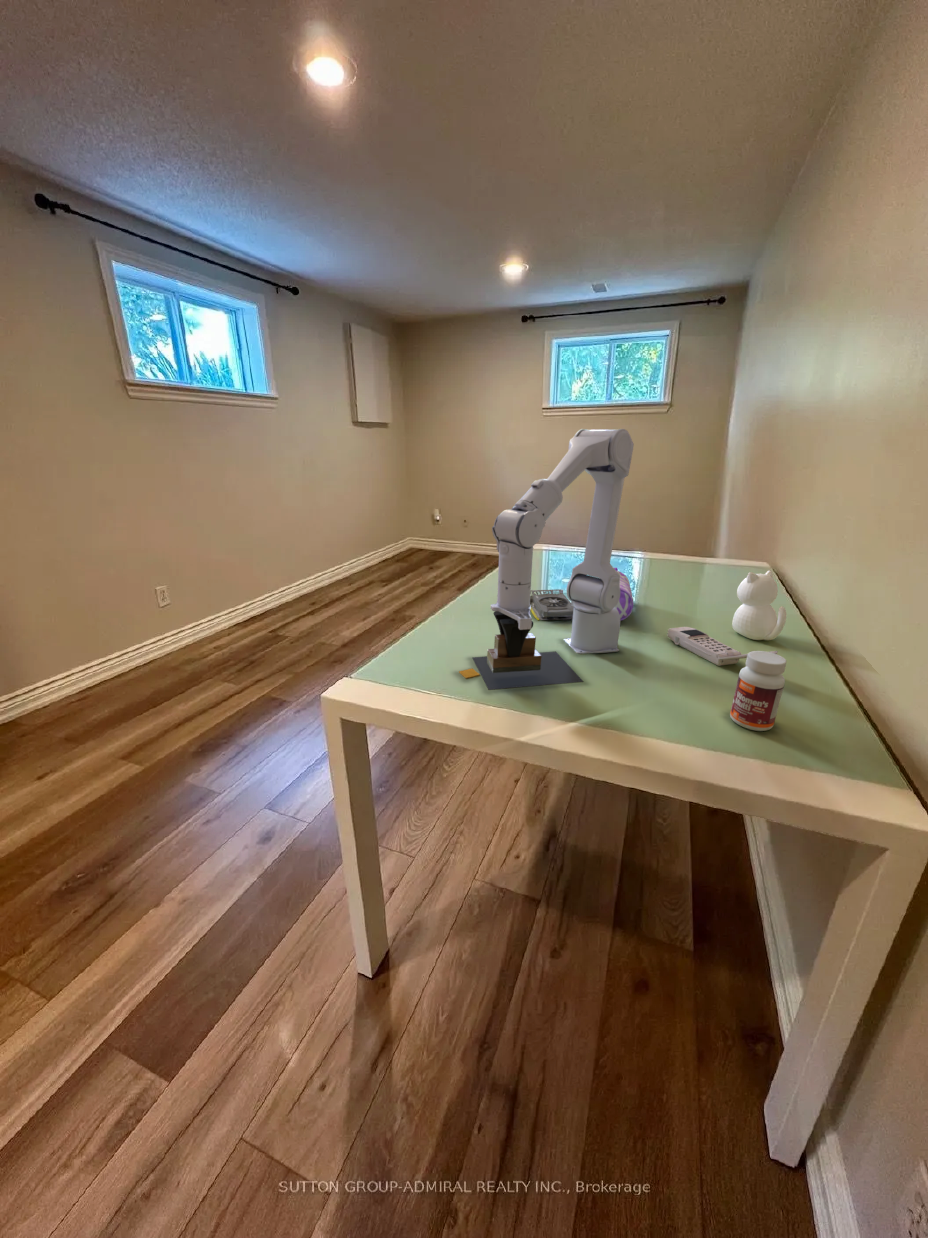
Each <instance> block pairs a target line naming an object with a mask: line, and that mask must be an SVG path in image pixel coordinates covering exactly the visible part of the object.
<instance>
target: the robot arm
mask: <svg viewBox="0 0 928 1238" xmlns="http://www.w3.org/2000/svg"><path fill="white" fill-rule="evenodd" d="M634 446H635V443H634V441H633V438H632V437H631V434H630V433H629V431H628V430H627V429H625V428H618V429H587V428H586V429H585V428H581V429H579V430H578V431H577V432H576V433H574V436H573V437H571V438H570V439H569V442H568V451H567V452H566V453H565V455H564V456H563V457H562V458H561V460H560V461H559V462H558V464H557V465H556V467H555V468H554V469H553V470H552V472H551V473H550V474H549V476H548V477H547V478H539V479H536V480H533V482H532V483H531V484H530V486H531V487H529V489H528V490H527V491H526V492H525V493H524V494H523V495H522V496H521V498H519V499H518V500H517V501H516V502H515V503H514V505H513V506H512V507H511V509H510V508H508V509H504V510H503V511H501V512H500V513H499V514H498V515H497V516H496V518H495V520H494V523H493V526H491V532H492V536H493V539H494V540H495V542H496V543H495V544H496V550H497V553H498V572H497V595H496V597H497V598H496V603H492V604H490V610H491V611H492V612H493V613H492V614H493V616H494V618H495V620H496V623H497V626H498V629H499V634H505V639H506V650H507V654H508V657H519V656H520V654H521V651H522V647H523V644H524V641H525V639H526V636H527V634H528V633H530V631H531V630H532V629H533V628H534V621H533V618H532V616H531V604H530V596H531V594H532V591H531V590H532V575H533V573H532V572H533V558H534V557H533V556H534V546H535V545H536V544H537V543H539V541H540V539H541V537H542V534H543V530H544V528H545V527H546V521H547V520H548V519H549V518H550V517H551V516H552V514H553V513H554V512H555V511H556V510H557V508H558V507H560V505H561V504H562V502H563V492H564V491H565V490H566V489H567V488H568V487H569V486H570V485H571V484H572V483H573V482H574V481H575V480H576V479H577V478H579V476H580V475H582V473H584V472H585V473H586V474H588V475H589V476H591V477H592V479H593V481H594V483H595V487H594V491H593V492H594V493H593V499H592V505H591V511H590V518H589V525H588V530H587V531H588V532H587V537H586V544H585V550H584V556H583V560H582V561H581V562H580V563H578V564H577V565H575V566H574V567H573V568H572V569H571V570H572V571H571V575H570V577H569V580H568V582H567V585H566V598H567V599H568V600H569V601H570V602H571V606H574V610H573V619H572V620H571V621H572V622H571V632H570V633H571V634H570V637H567V638H563V642H564V643H565V644H566V645H568V647H570V648H571V649H572V650H573V652H574V653H576V654H578V655H580V654H581V655H584V654H605V653H617V652H619V651H620V649H619V647H618V646H619V645H618V644H619V637H620V631H621V630H620V629H621V621H620V615H619V612H618V610H617V609H616V608H615V606H616V605H617V603H618V601H619V598H620V574H619V573H618V572H617V571H616V570H615V569H614V568H615V567H614V566H613V565H612V564H611V559H612V555H613V553H612V552H613V547H614V541H615V535H616V529H617V526H618V525H617V524H618V517H619V512H620V506H621V502H622V496H623V489H624V484H625V478H627V477H629V474H630V469H631V464H632V458H633V453H634Z"/></svg>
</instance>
